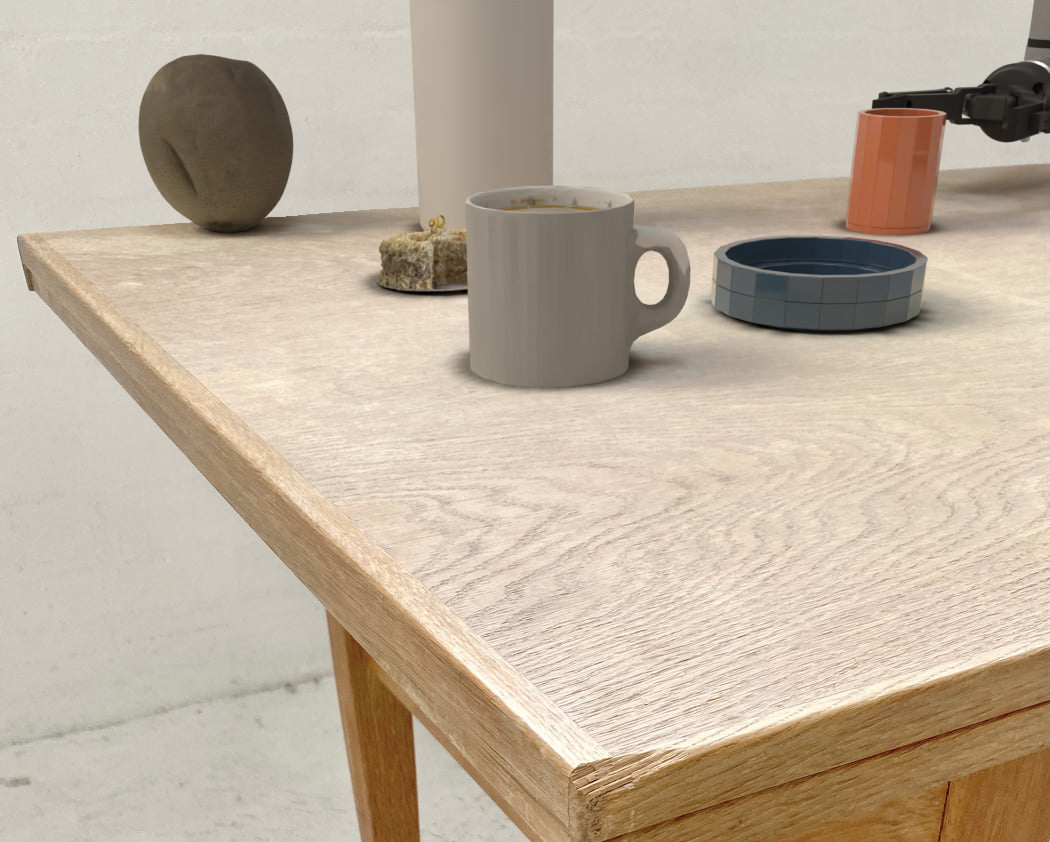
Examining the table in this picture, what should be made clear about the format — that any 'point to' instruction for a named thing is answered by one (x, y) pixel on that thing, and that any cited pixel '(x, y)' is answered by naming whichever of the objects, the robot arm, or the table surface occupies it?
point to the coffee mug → (561, 284)
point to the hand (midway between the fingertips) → (941, 119)
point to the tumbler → (895, 170)
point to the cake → (424, 259)
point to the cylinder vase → (480, 100)
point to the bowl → (818, 282)
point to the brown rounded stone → (216, 140)
